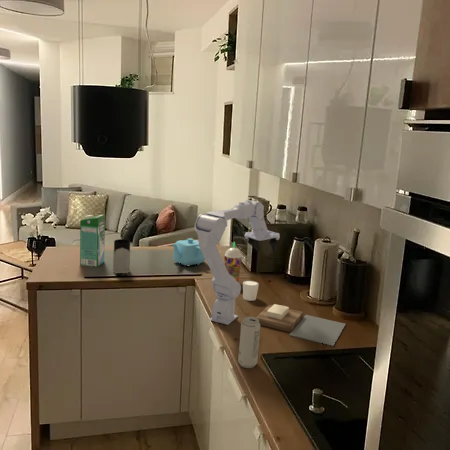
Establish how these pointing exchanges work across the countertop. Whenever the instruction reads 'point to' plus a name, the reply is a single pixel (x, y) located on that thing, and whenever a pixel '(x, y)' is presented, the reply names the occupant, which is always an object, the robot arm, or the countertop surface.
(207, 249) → the robot arm
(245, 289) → the white cup
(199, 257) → the teapot
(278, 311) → the cream rectangular block
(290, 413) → the countertop surface
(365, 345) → the countertop surface
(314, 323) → the mat
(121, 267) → the holder
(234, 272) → the smoothie
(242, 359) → the energy drink can
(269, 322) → the wooden cutting board
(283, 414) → the countertop surface
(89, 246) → the milk carton
